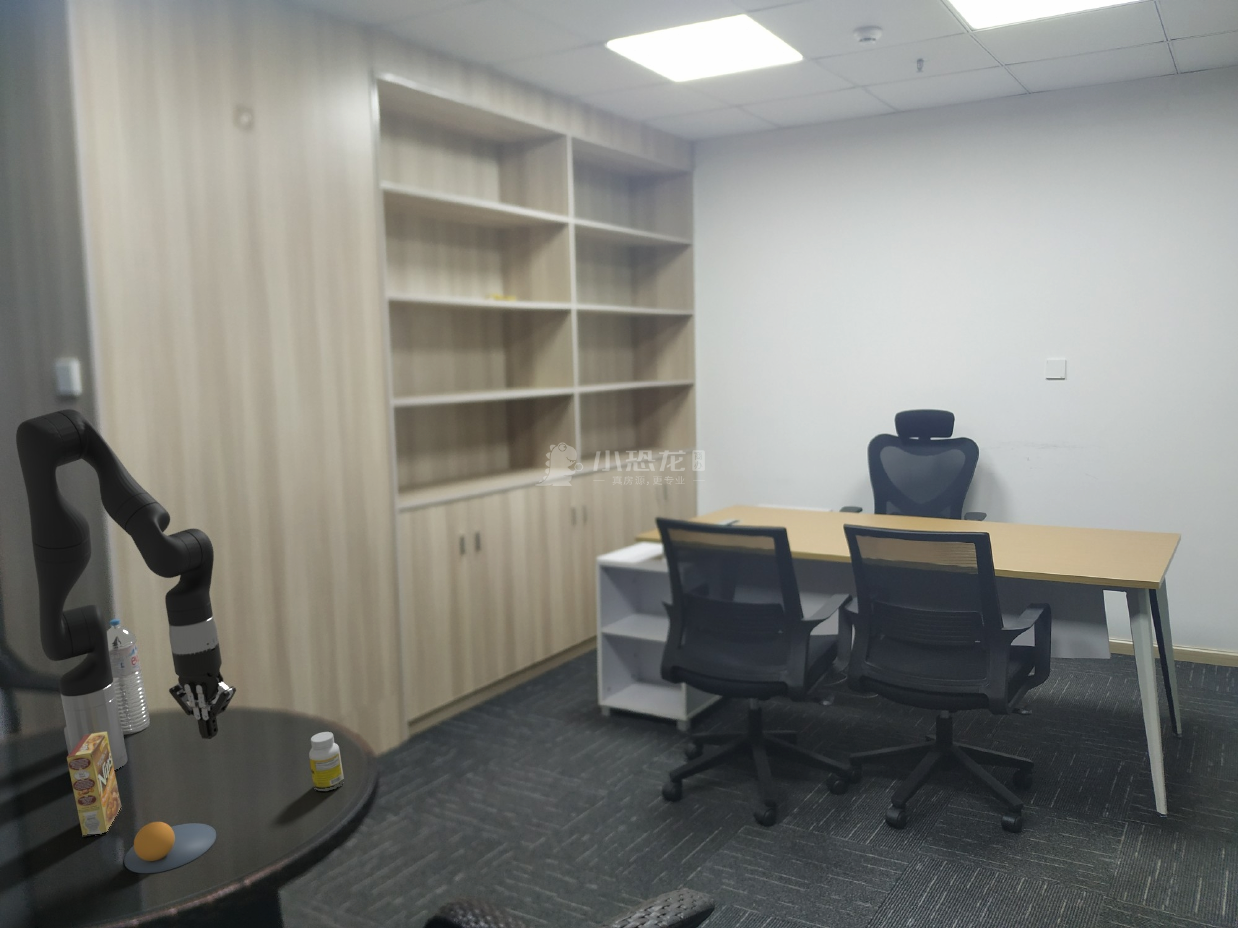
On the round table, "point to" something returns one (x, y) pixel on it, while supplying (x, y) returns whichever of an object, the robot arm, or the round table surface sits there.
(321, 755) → the supplement bottle
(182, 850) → the blue-grey plate
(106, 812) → the candy box
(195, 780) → the round table surface
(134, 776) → the round table surface
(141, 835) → the ball
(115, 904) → the round table surface
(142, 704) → the water bottle
